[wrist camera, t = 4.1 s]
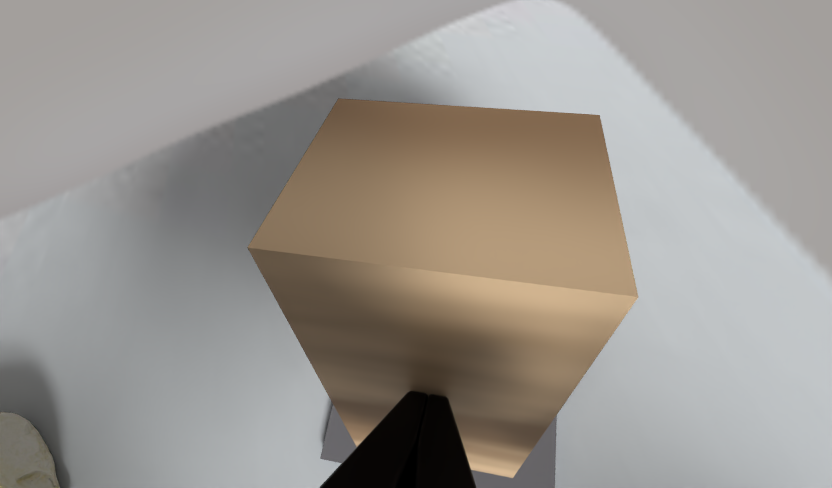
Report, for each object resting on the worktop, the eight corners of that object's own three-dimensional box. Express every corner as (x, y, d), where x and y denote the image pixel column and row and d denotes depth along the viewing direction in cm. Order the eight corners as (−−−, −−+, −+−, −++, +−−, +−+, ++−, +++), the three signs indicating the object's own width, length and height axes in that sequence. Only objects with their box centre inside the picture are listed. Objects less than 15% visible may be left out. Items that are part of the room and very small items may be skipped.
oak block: (512, 478, 12) (638, 296, 5) (356, 447, 13) (247, 247, 5) (515, 357, 15) (599, 115, 7) (385, 337, 15) (338, 98, 8)
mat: (550, 503, 13) (554, 507, 13) (324, 457, 14) (320, 458, 14) (561, 148, 19) (564, 142, 18) (396, 136, 20) (395, 129, 19)
